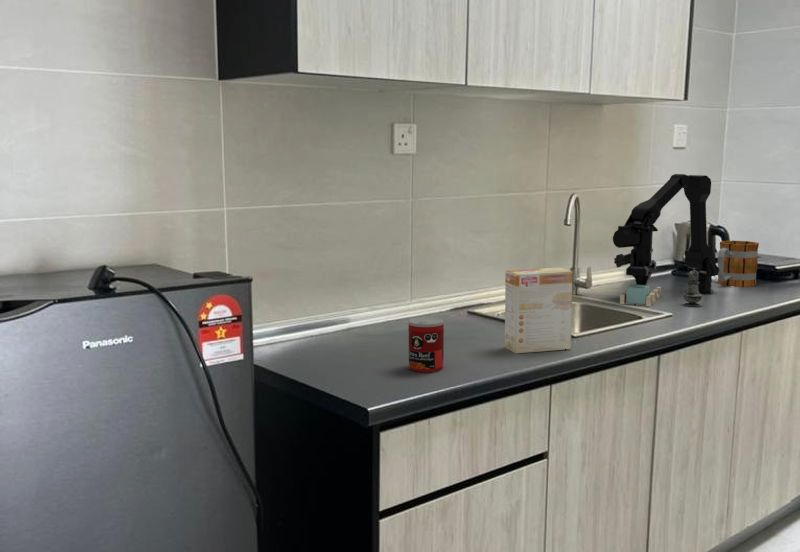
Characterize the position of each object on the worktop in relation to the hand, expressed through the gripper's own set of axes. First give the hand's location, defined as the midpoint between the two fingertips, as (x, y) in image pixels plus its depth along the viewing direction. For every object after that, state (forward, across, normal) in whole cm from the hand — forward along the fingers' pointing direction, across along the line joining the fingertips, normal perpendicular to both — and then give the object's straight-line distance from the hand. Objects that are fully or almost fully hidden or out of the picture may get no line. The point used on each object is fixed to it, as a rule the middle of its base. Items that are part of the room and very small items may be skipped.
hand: (640, 293), depth 253 cm
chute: (+2, -1, 0) cm, 2 cm away
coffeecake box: (+2, +74, -11) cm, 75 cm away
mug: (+2, -44, +24) cm, 50 cm away
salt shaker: (+2, +2, +16) cm, 16 cm away
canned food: (+2, +102, -28) cm, 106 cm away
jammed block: (+2, +5, 0) cm, 5 cm away
